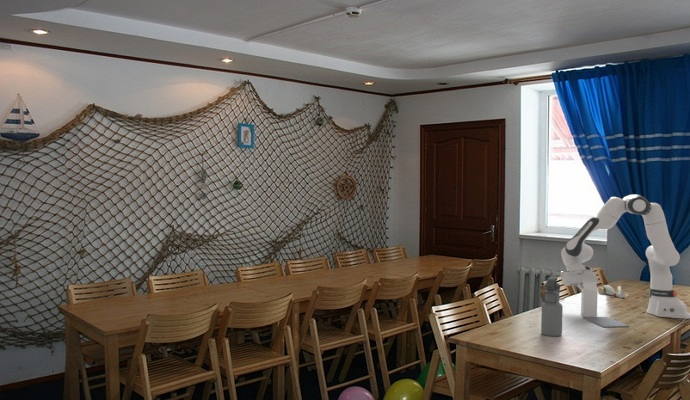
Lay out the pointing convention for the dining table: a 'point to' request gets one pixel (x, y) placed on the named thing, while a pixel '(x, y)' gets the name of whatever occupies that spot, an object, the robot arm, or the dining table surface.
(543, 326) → the water bottle
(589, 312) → the milk carton
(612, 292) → the toy dog
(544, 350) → the dining table surface
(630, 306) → the dining table surface
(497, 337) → the dining table surface
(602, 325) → the mat
